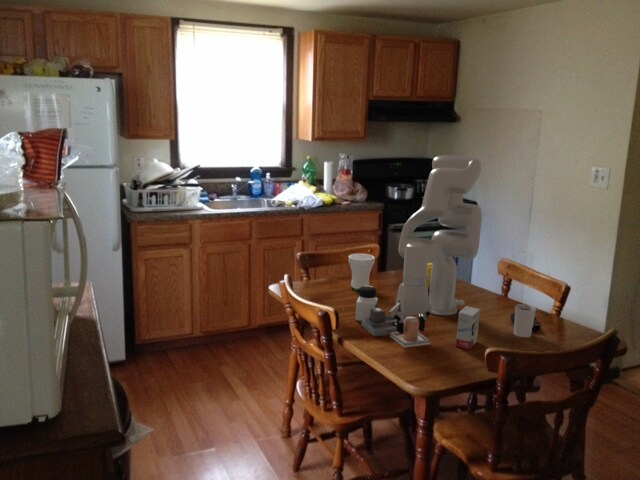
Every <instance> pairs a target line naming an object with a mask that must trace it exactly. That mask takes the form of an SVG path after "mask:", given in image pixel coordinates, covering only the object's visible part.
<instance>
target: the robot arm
mask: <svg viewBox="0 0 640 480" xmlns="http://www.w3.org/2000/svg"><path fill="white" fill-rule="evenodd" d="M431 166H432V167H431V168H432V170H431V171H430V173H429V174H428V178H427V182H426V187H425V190H424V191H425V192H424V196H423V199H422V202H421V203H422V204H421V207H420V208H419V209H418V210H417V211H416V212H414V213H413V214H412V215H410V217H409V218H408V219H407V220H406V222H405V223H404V225H403V226H402V230H401V234H400V238H399V242H398V253H399V256H400V257H401V258H404V259H403V260H404V261H403V269H402V270H403V272H402V273H403V274H402V283H399V287H398V288H397V289H398V290H397V292H396V293H397V294H396V300H395V305H394V306H392V308H390V309H389V313H390V314H391V315H392V316H393V317H394V318H395V319H396V320H397V327H396V329H397V332H399V333H400V334H403V331H404V323H403V320H404V319H405V318H406V317H407V316H414V315H418V316H419V317H417V318H418V320H419V321H420V322H419V332H422V333H424V332H425V328H426V327H425V326H426V321H427V319H428V317H429V316H430V315H431V314H433V315H437V316H454V315H455V314H457V313H458V308H457V307H458V306H464V305H465V304H466V303H465V300H464V299H458V298H455V295H456V294H455V293H456V287H457V286H456V284H457V273H458V267H457V263H456V261H455V258H458V259H459V258H460V259H467V260H472V259H475V258H476V257H477V255H478V252H479V248H480V241H481V231H482V218H483V214H482V209H481V208H480V206H479V205H477V204H473V203H466V202H465V203H464V195H467V194H468V193H470V191H471V190H472V188H473V187H474V185H475V184H476V182H477V180H478V179H479V177H480V175H481V172H482V163H481V161H480V160H479V159H478V158H476V157H472V156H471V157H470V156H460V155H447V154H445V155H443V154H442V155H437V156H435V157H434V158H433V159H432V162H431ZM435 219H437V221H438V223H439V225H441V226H443V227H445V228H446V227H447V228H454V229H462V230H465V231H466V232H462V231H456V230H448V229H439V230H436V231H435V232H434V233H433V234H432V236H431V239H429V238H421V237H415V236H412V235H413V233H414V231H415V230H416V228H417V227H419V226H420V225H422V224H424V223H427V222H429V221H432V220H435ZM427 263H432V270H431V282H430V290H429V289H428V288H427V284H426V281H427V280H429V276H426V275H427ZM428 290H429V291H428Z"/></svg>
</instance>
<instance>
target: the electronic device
mask: <svg viewBox="0 0 640 480" xmlns="http://www.w3.org/2000/svg"><path fill="white" fill-rule="evenodd" d="M510 320H511V323H512V324H513V325H514V322H515V312H513V313H511V315H510ZM533 327H534V328H535V329H536V330H535V329H534V330H535V331H534V332H538V331H540V330H541V326H540V324H539V323H538V322H537V317H536V315H535V316H534V322H533ZM533 327H532V328H533Z"/></svg>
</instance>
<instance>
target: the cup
mask: <svg viewBox="0 0 640 480" xmlns="http://www.w3.org/2000/svg"><path fill="white" fill-rule="evenodd" d="M375 261H376V258H375V256H373V255H372V254H369V253H352V254H349V255H348V264H349V266H350V270H351V283H350V287H351V289H352V290H354V291H356V292H357V291H359V290H360V287H362V286H370V275H371V271H372V269H373V266H374V265H375V263H376V262H375Z"/></svg>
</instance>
